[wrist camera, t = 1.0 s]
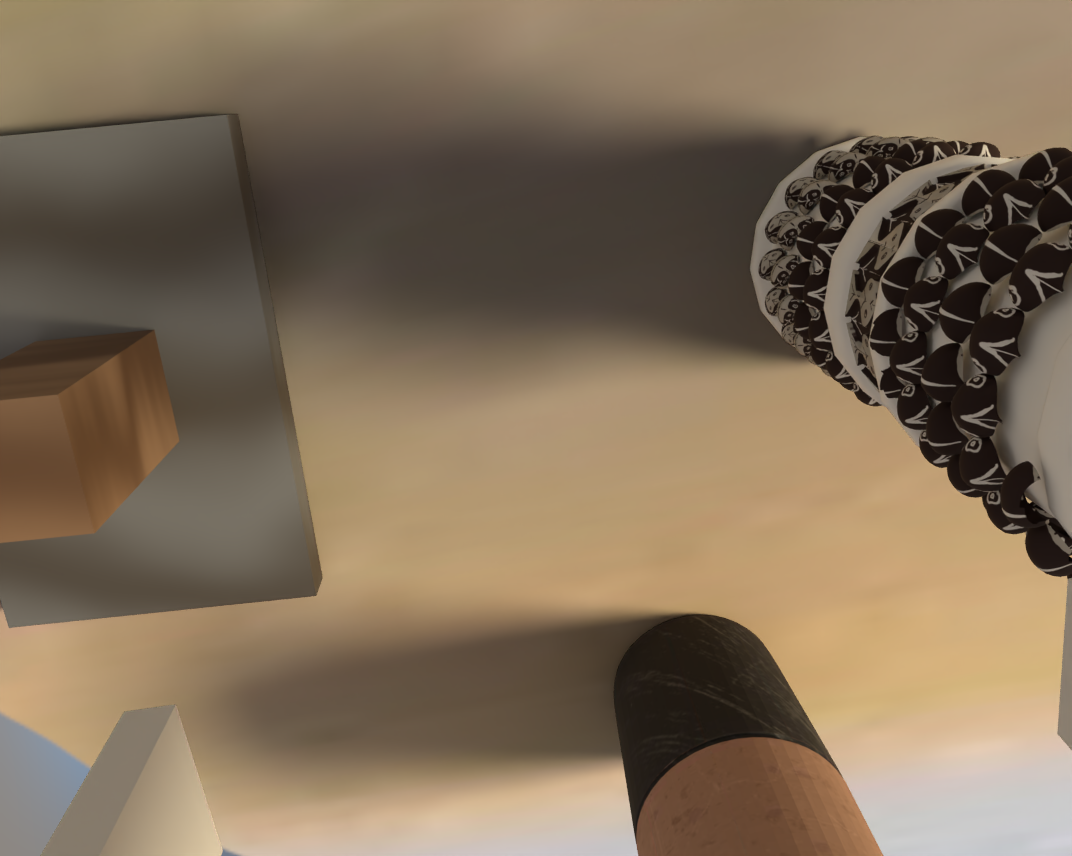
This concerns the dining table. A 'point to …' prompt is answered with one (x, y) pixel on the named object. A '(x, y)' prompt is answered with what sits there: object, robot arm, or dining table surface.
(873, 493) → the dining table surface
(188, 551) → the grey base with post
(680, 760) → the travel mug
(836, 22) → the dining table surface
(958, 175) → the decorative candle
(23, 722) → the dining table surface
